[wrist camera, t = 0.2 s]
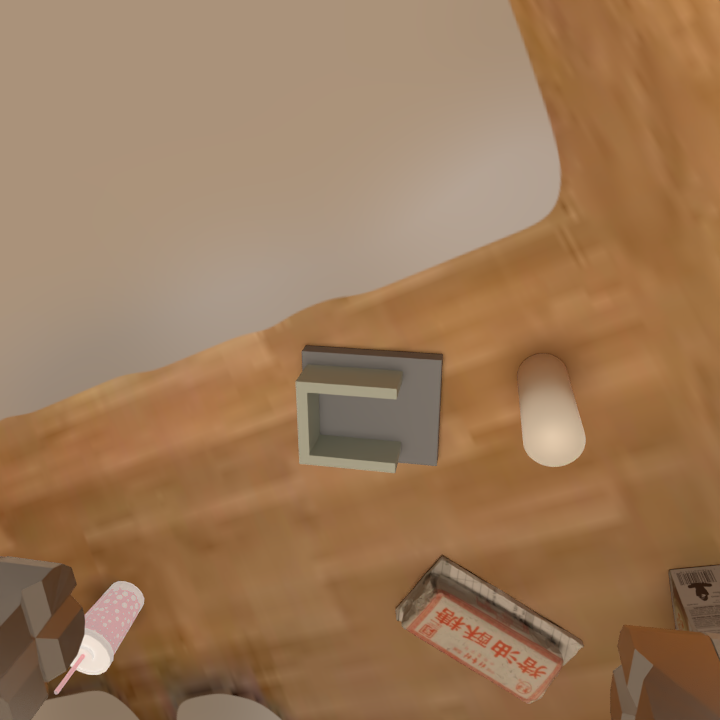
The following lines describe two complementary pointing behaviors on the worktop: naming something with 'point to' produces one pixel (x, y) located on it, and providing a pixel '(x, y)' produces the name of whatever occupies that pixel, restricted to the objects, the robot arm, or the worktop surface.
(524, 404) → the tall white cylinder
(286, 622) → the worktop surface
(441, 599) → the packaged product
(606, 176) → the worktop surface
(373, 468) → the cradle jig
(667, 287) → the worktop surface
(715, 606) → the coffee box
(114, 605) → the beverage cup
